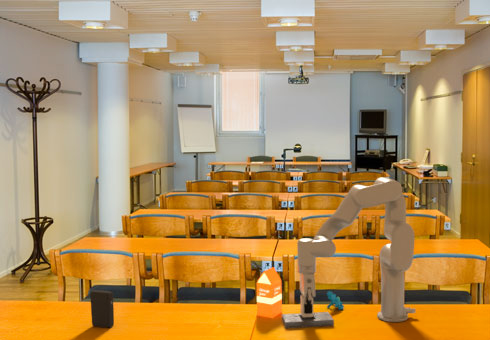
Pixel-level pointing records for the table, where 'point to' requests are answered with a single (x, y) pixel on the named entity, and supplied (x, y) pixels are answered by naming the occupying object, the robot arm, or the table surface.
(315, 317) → the grey peg hole board
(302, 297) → the square peg
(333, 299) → the teal plastic figure
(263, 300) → the orange juice
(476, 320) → the table surface
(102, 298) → the card reader
